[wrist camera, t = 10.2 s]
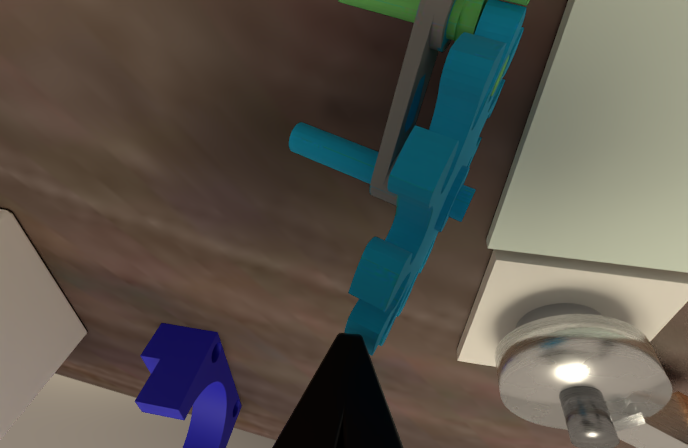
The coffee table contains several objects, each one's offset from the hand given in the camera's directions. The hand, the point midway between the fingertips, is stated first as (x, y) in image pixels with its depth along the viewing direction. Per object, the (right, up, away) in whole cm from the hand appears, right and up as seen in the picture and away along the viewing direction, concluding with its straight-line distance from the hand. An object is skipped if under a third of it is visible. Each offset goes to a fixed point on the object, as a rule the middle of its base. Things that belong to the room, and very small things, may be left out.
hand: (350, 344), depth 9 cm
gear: (+3, +7, +7) cm, 10 cm away
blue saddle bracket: (-12, -9, +24) cm, 28 cm away
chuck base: (+12, -2, +12) cm, 17 cm away
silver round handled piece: (+14, -5, +11) cm, 18 cm away
